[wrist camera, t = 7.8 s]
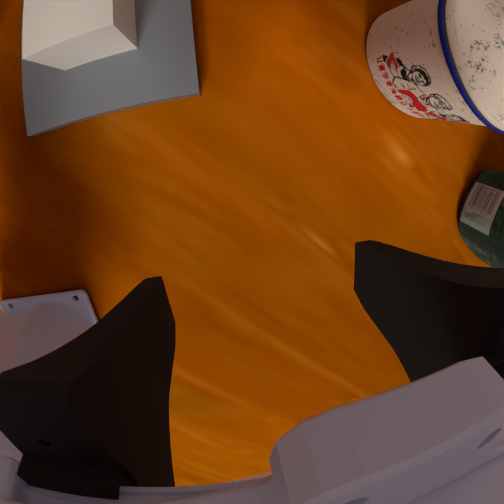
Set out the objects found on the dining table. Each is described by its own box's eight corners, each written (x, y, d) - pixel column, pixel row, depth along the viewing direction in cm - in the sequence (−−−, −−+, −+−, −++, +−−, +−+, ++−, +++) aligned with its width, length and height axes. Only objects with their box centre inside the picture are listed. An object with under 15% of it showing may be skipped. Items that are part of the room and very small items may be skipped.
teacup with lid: (340, 74, 18) (467, 49, 7) (385, -14, 15) (494, -64, 4) (454, 162, 21) (568, 205, 10) (486, 79, 18) (593, 90, 8)
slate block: (45, 133, 17) (27, 136, 15) (40, -1, 12) (24, -11, 10) (200, 96, 18) (199, 93, 15) (187, -44, 13) (186, -60, 11)
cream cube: (64, 70, 13) (22, 59, 9) (63, 7, 12) (25, -18, 7) (137, 48, 14) (113, 24, 9) (133, -16, 12) (112, -53, 7)
